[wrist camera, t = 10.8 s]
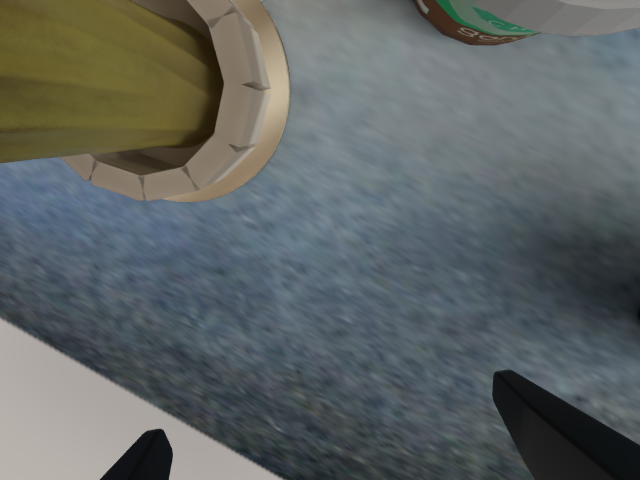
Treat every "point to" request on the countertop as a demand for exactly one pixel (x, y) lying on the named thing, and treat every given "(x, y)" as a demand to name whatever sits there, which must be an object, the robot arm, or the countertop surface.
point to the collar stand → (233, 117)
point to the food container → (527, 18)
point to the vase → (101, 79)
